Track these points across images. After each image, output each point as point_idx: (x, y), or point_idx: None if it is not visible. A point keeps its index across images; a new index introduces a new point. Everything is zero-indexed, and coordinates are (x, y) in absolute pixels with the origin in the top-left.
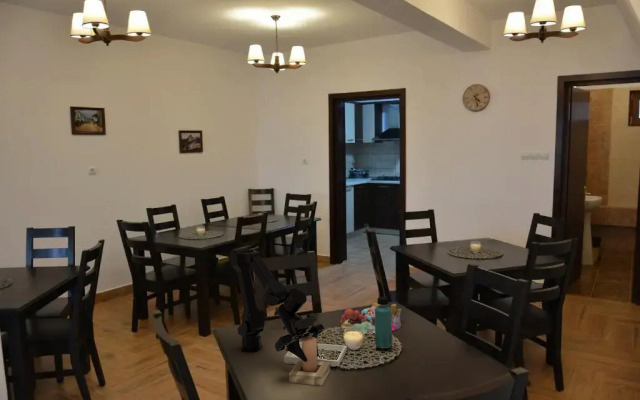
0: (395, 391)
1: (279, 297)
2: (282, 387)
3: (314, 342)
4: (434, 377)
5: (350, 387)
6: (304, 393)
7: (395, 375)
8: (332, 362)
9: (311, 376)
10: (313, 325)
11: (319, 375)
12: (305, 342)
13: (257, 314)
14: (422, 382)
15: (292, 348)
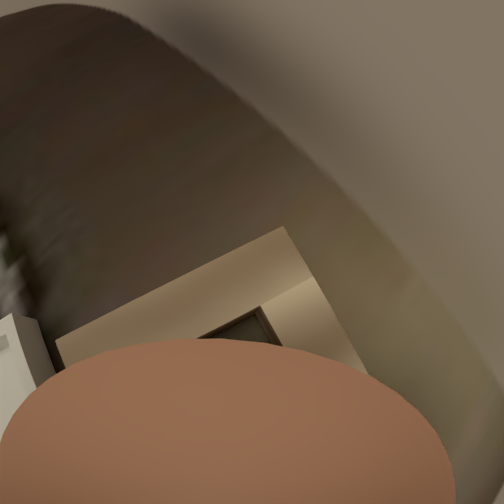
0: (125, 34)
1: None
2: (432, 402)
3: (212, 341)
4: (13, 45)
5: (185, 129)
6: (399, 263)
7: (18, 96)
8: (29, 353)
9: (323, 295)
10: None
11: (276, 253)
12: (447, 487)
13: None
14: (45, 38)
15: None
